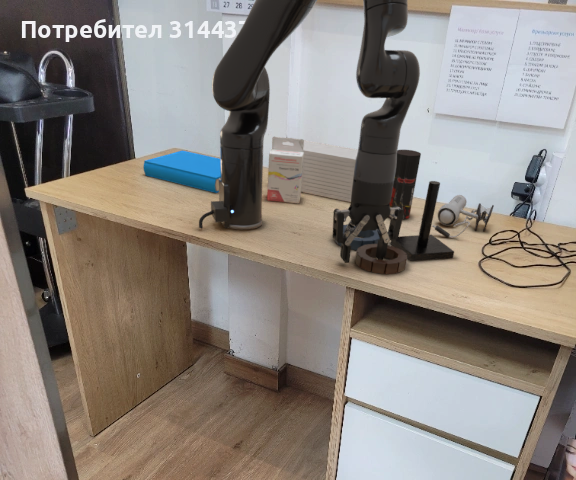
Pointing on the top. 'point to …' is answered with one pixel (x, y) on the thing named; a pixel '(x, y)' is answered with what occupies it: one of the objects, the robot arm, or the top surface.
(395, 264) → the walnut ring
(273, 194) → the ink cartridge box
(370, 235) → the slate ring
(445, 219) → the clip-on lamp
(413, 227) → the top surface
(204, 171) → the book
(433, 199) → the stand
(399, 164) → the deodorant
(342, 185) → the light grey ridged block
